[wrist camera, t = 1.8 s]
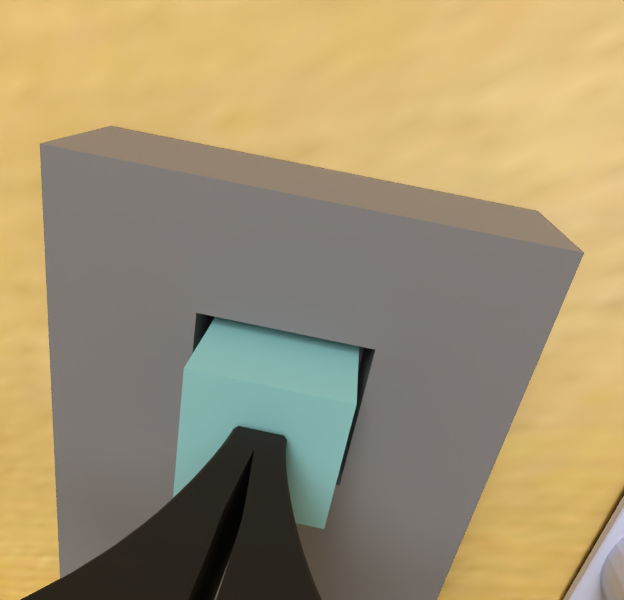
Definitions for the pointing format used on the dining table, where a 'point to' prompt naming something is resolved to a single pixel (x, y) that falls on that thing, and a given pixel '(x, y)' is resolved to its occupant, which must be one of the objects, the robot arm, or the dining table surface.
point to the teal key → (271, 405)
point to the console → (292, 318)
